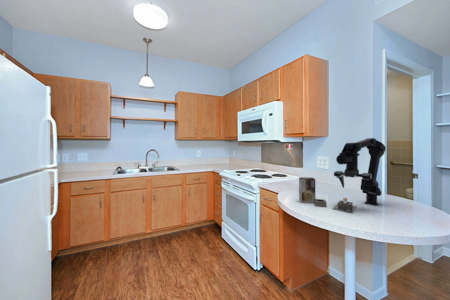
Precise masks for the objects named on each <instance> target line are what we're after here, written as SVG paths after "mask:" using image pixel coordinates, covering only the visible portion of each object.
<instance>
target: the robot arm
mask: <svg viewBox="0 0 450 300" xmlns="http://www.w3.org/2000/svg"><path fill="white" fill-rule="evenodd" d="M363 148H366V149H367V150H368V154H369V157H370V159H369V165H368V170H367V172H362V173H360V169H359V162H358V160H359V156H360V153H359V152H360V151H362V149H363ZM386 150H387V148H386V146H385V144H384V143H383V142H381V141H380V140H377V139H376V138H374V137H371V138H369V137H368V138H365V139H362V140H360V141H356V142H346V143H345V144H344V146H343V147H342V150H341V152H339V153H338V154H339V155H337V156H336V162H337V164H338V165H346V167H345V169H344V171H342V170H336V171H334V172H333V177H336V178H337V179H338V180H339V181H340V184H341V187H342V188H344V189H345V178H361V181H360V191H362V194H365V201H364V204H367V205H373V206H378V205H379V202H378V197H380V196H381V195H382V192H383V191H382V190H381V189H380V188H379V185H380V184H379V182H378V180H377V177H378V172H379V166H380V162H381V161H380V159H381V158H382V157H383V156H384V155H385V152H386Z"/></svg>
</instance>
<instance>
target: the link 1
mask: <svg viewBox="0 0 450 300" xmlns="http://www.w3.org/2000/svg"><path fill="white" fill-rule="evenodd" d="M313 205H314V207H320V208H321V207H322V208H327V206H328V205H327V201H326V199H322V198H321V199H320V198H315V199H314V203H313Z"/></svg>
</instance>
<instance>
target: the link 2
mask: <svg viewBox="0 0 450 300" xmlns="http://www.w3.org/2000/svg"><path fill="white" fill-rule="evenodd" d="M353 203H354V202H351V201H348V200H347V203H343V200H339V201H338V202H337V204H338V208H343V209H348V210H351V208H352V207H353V206H354V205H353Z"/></svg>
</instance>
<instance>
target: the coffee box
mask: <svg viewBox="0 0 450 300" xmlns="http://www.w3.org/2000/svg"><path fill="white" fill-rule="evenodd" d="M314 199H316V178H314V177H310V176H309V177H308V176H307V177H306V176H304V177H298V200H300V201H299V202H300V203H301V204H314Z"/></svg>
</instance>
